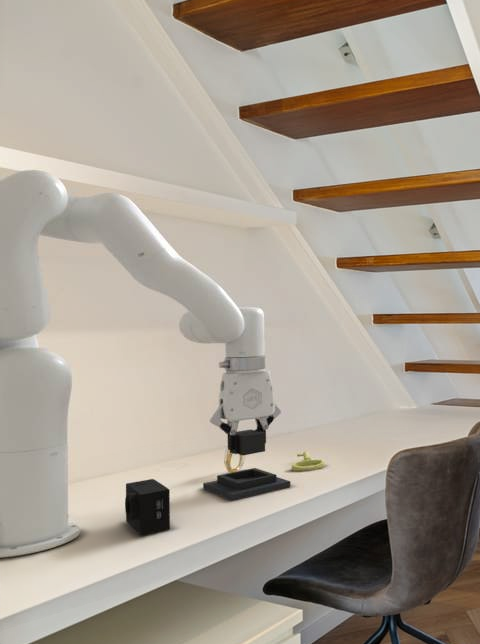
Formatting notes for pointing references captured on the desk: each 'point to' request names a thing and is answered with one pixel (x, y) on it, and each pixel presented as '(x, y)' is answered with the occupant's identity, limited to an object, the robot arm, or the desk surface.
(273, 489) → the base pad
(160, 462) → the desk surface
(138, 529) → the digital camera
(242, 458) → the ring
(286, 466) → the desk surface
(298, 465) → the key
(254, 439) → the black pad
